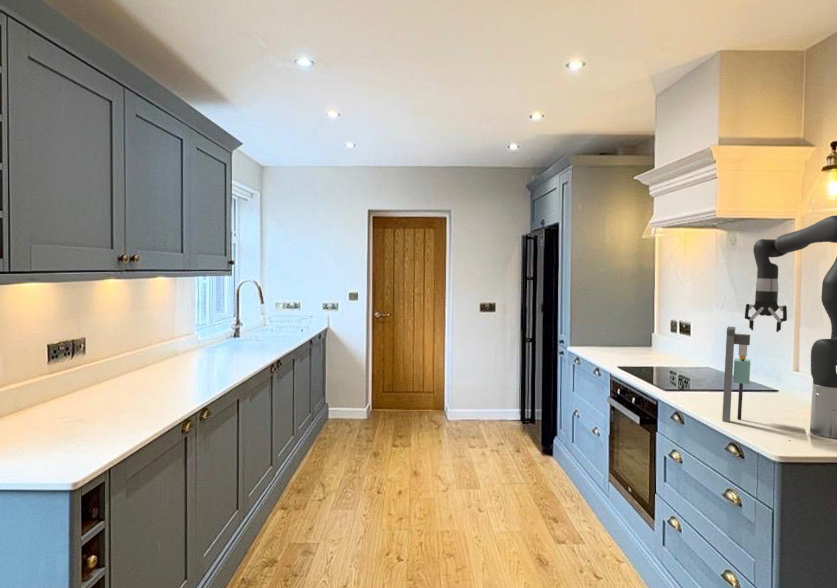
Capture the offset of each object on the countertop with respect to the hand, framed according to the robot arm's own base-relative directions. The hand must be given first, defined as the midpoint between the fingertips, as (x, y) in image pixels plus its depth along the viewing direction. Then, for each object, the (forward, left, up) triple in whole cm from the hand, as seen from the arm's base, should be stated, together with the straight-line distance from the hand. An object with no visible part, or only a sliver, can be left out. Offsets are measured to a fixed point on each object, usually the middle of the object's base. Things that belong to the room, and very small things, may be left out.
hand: (764, 330), depth 224 cm
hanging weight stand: (-12, +26, -32) cm, 43 cm away
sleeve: (-10, +21, -17) cm, 29 cm away
